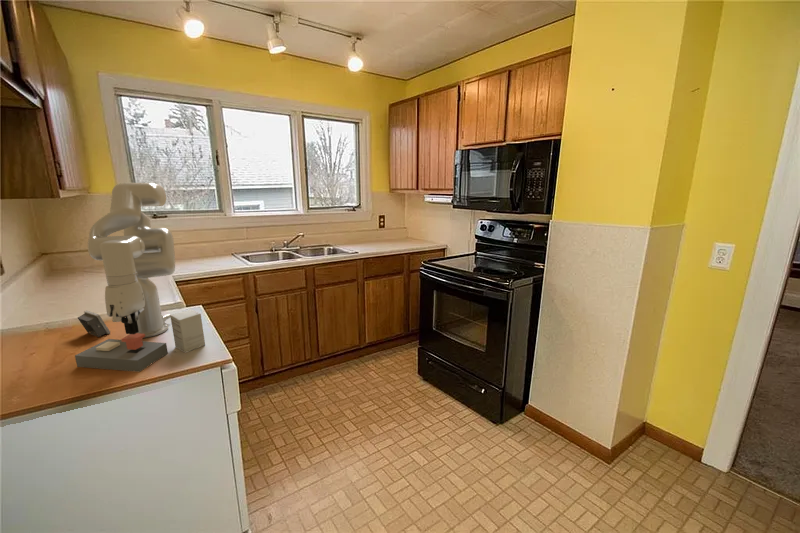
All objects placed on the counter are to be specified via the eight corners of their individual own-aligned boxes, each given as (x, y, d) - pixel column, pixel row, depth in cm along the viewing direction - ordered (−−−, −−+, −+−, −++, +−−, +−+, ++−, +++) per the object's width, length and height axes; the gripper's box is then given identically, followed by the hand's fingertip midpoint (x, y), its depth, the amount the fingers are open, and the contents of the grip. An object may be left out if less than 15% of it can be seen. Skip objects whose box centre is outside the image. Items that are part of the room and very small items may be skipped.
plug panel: (110, 349, 125) (108, 338, 124) (167, 353, 123) (166, 342, 122) (77, 366, 113) (74, 355, 112) (139, 371, 111) (137, 360, 110)
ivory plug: (110, 352, 121) (108, 341, 120) (121, 352, 120) (119, 342, 119) (98, 358, 116) (95, 347, 115) (110, 359, 116) (107, 348, 115)
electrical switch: (111, 333, 137) (104, 312, 134) (96, 340, 132) (88, 318, 129) (98, 329, 141) (90, 308, 138) (82, 335, 136) (74, 314, 133)
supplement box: (195, 339, 133) (191, 308, 130) (205, 345, 129) (201, 313, 126) (174, 347, 127) (169, 314, 124) (184, 353, 123) (179, 319, 120)
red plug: (134, 343, 119) (132, 332, 118) (146, 344, 118) (144, 333, 117) (123, 350, 114) (121, 338, 113) (135, 350, 114) (133, 339, 113)
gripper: (131, 272, 118) (140, 323, 122) (88, 285, 104) (100, 342, 108) (152, 273, 117) (160, 324, 122) (111, 286, 103) (122, 344, 107)
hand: (132, 332), depth 115 cm, fingers closed
